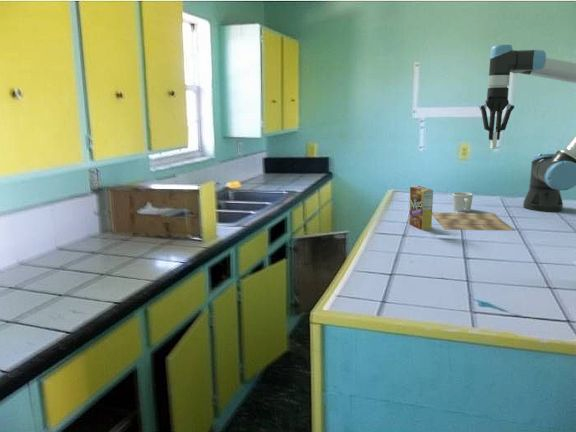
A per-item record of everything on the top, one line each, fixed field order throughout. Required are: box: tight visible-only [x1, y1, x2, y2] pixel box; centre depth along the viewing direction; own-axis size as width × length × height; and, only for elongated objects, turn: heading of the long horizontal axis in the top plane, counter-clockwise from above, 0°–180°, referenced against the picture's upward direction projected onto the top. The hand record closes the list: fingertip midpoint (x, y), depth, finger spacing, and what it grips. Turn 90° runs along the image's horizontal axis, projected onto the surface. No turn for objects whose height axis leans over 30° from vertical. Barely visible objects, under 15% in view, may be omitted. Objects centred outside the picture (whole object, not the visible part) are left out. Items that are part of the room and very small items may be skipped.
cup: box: [451, 191, 474, 213], centre depth 204 cm, size 11×8×8 cm
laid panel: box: [435, 219, 516, 232], centre depth 182 cm, size 24×16×1 cm, turn 85°
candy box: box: [408, 185, 434, 231], centre depth 178 cm, size 9×4×15 cm, turn 17°
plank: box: [432, 212, 502, 220], centre depth 194 cm, size 24×8×1 cm, turn 85°
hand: (493, 148), depth 199 cm, fingers closed
